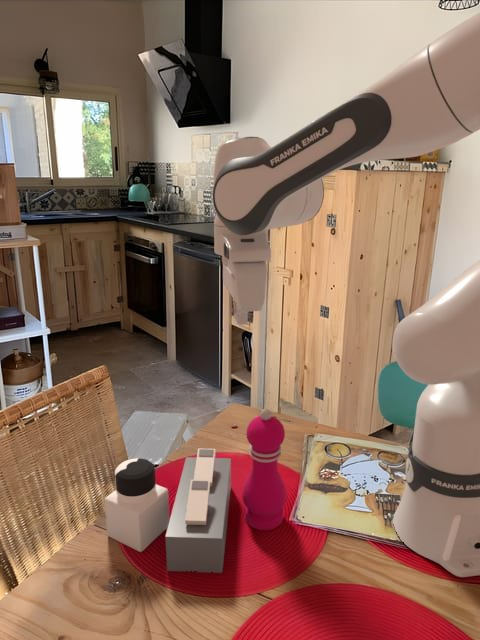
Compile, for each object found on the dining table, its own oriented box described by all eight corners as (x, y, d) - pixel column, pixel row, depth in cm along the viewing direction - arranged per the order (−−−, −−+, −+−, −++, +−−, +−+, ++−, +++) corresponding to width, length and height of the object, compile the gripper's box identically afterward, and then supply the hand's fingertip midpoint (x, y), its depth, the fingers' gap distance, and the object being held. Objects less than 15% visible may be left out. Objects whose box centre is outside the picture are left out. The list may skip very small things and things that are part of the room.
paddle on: (210, 484, 78) (210, 479, 77) (206, 525, 72) (205, 520, 71) (191, 483, 78) (190, 479, 77) (185, 524, 72) (184, 519, 71)
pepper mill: (283, 536, 79) (286, 423, 73) (238, 529, 80) (238, 418, 74) (288, 506, 85) (291, 401, 79) (246, 501, 87) (247, 397, 81)
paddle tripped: (215, 452, 86) (215, 448, 86) (212, 486, 81) (211, 482, 80) (198, 452, 86) (198, 447, 86) (193, 486, 81) (193, 481, 80)
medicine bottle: (170, 525, 81) (167, 461, 77) (141, 553, 75) (136, 485, 72) (137, 510, 84) (133, 448, 81) (106, 536, 79) (100, 470, 75)
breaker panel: (230, 487, 91) (230, 454, 89) (222, 572, 72) (222, 533, 69) (187, 485, 91) (186, 453, 89) (167, 571, 72) (165, 531, 70)
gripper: (214, 234, 91) (215, 307, 95) (231, 253, 72) (231, 342, 76) (248, 233, 92) (247, 305, 96) (273, 251, 73) (271, 340, 77)
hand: (240, 322), depth 86 cm, fingers closed
